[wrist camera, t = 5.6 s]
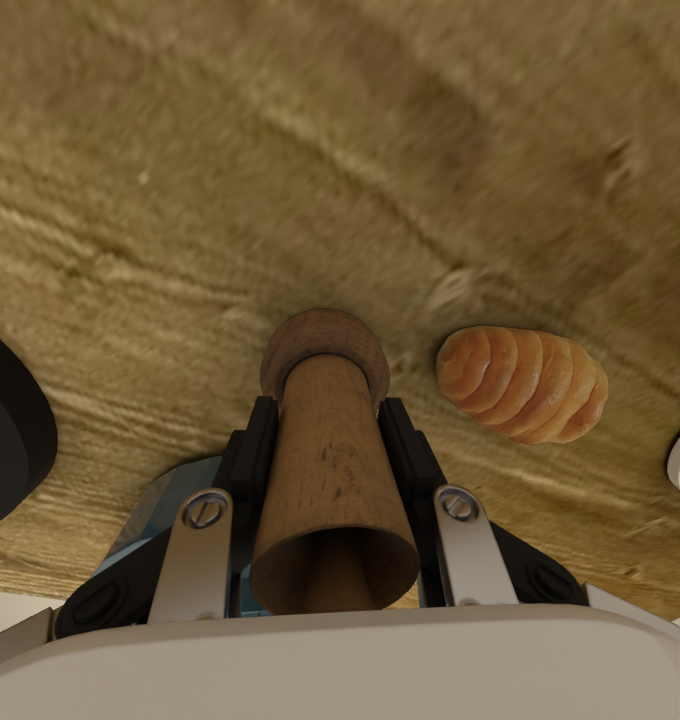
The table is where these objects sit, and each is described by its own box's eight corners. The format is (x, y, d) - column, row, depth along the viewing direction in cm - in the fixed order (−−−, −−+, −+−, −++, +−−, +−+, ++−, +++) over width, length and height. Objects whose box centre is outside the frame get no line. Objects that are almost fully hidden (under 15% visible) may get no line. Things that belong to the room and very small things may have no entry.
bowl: (353, 446, 20) (366, 522, 15) (340, 575, 27) (346, 656, 22) (110, 451, 18) (36, 536, 14) (162, 586, 25) (126, 676, 20)
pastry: (407, 392, 18) (428, 432, 15) (463, 292, 16) (505, 312, 12) (522, 428, 21) (564, 470, 17) (588, 345, 18) (653, 375, 15)
